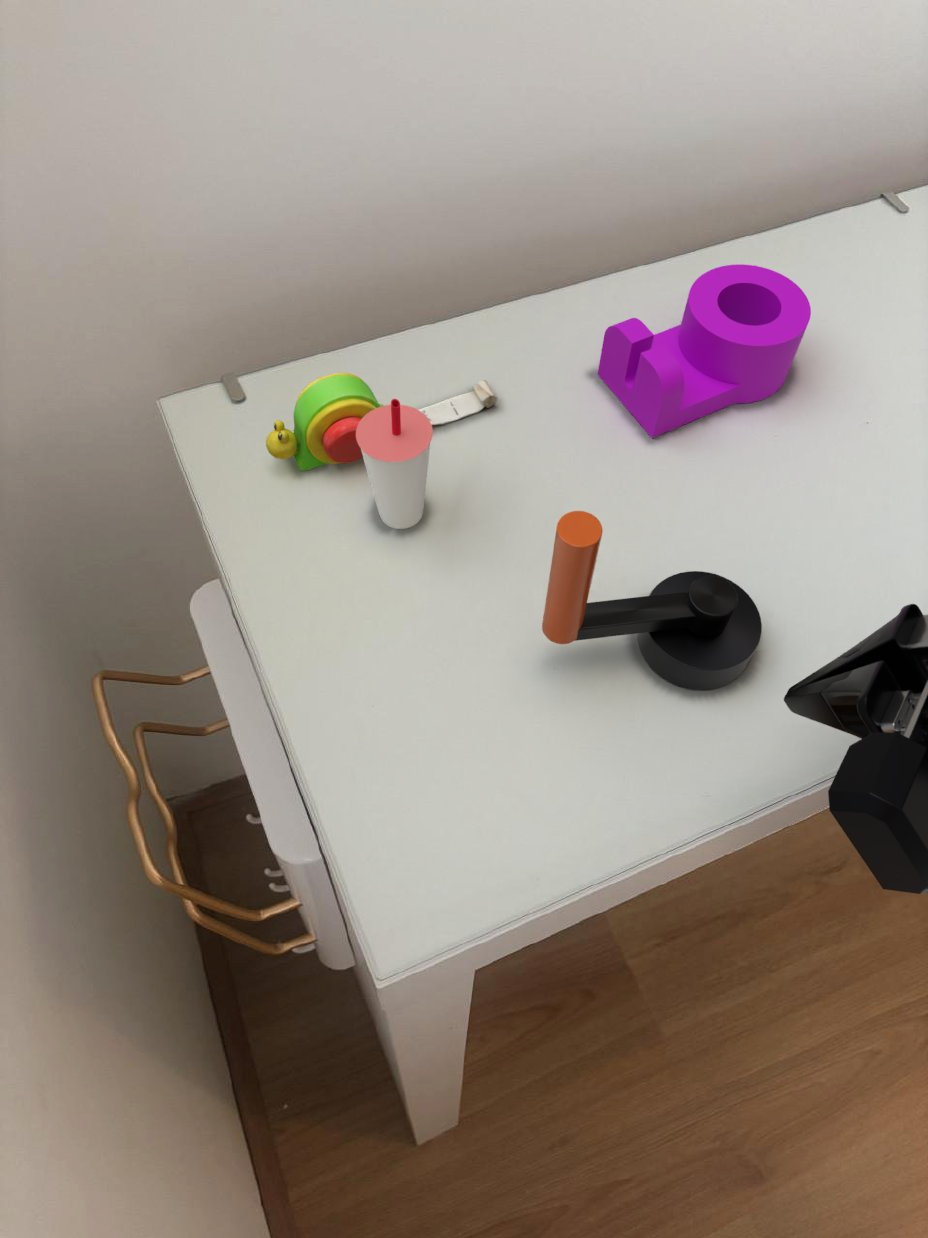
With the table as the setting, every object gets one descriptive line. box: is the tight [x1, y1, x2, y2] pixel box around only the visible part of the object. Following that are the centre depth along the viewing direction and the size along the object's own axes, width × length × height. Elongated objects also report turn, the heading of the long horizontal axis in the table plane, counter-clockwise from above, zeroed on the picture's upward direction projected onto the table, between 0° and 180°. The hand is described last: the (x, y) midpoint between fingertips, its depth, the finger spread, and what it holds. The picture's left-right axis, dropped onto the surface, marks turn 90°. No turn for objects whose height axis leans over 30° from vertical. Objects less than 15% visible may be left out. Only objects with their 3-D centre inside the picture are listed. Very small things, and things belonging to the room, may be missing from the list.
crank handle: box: [541, 510, 738, 645], centre depth 57 cm, size 13×3×12 cm, turn 98°
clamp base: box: [637, 570, 763, 691], centre depth 64 cm, size 8×8×3 cm
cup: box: [356, 398, 434, 530], centre depth 66 cm, size 5×5×12 cm
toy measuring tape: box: [265, 372, 497, 472], centre depth 73 cm, size 6×20×7 cm, turn 114°
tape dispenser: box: [597, 263, 812, 439], centre depth 77 cm, size 16×10×6 cm, turn 118°
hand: (789, 700), depth 49 cm, fingers closed
